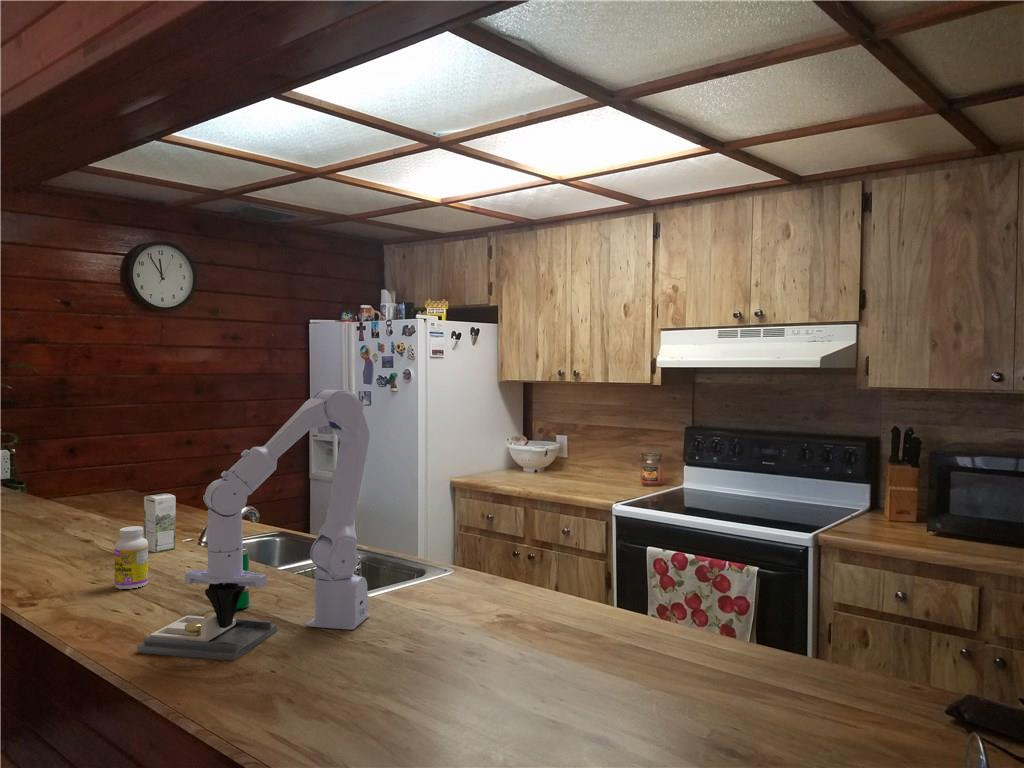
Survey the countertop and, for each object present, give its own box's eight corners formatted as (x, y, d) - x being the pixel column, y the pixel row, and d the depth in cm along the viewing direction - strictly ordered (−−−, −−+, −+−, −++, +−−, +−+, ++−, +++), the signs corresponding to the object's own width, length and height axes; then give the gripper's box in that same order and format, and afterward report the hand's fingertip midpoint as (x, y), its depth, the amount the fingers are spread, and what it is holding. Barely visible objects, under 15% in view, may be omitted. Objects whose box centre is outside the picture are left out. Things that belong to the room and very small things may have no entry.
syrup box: (164, 545, 202) (164, 492, 201) (176, 549, 198) (175, 494, 198) (143, 550, 197) (143, 495, 197) (155, 553, 194) (155, 497, 193)
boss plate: (277, 631, 135) (276, 610, 135) (233, 661, 122) (233, 637, 122) (188, 624, 139) (188, 604, 139) (137, 652, 125) (136, 629, 125)
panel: (235, 624, 135) (235, 605, 135) (202, 644, 125) (202, 623, 125) (186, 620, 137) (186, 602, 137) (150, 640, 127) (149, 620, 127)
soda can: (240, 612, 146) (240, 551, 146) (217, 610, 147) (216, 550, 147) (254, 604, 151) (253, 545, 151) (232, 602, 152) (231, 544, 152)
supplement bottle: (107, 588, 162) (107, 530, 162) (133, 580, 168) (132, 524, 168) (130, 592, 160) (129, 532, 160) (155, 583, 166) (154, 526, 166)
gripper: (173, 552, 127) (174, 631, 127) (250, 556, 124) (251, 636, 124) (198, 542, 134) (199, 617, 134) (272, 546, 131) (272, 622, 131)
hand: (225, 626), depth 130 cm, fingers closed
